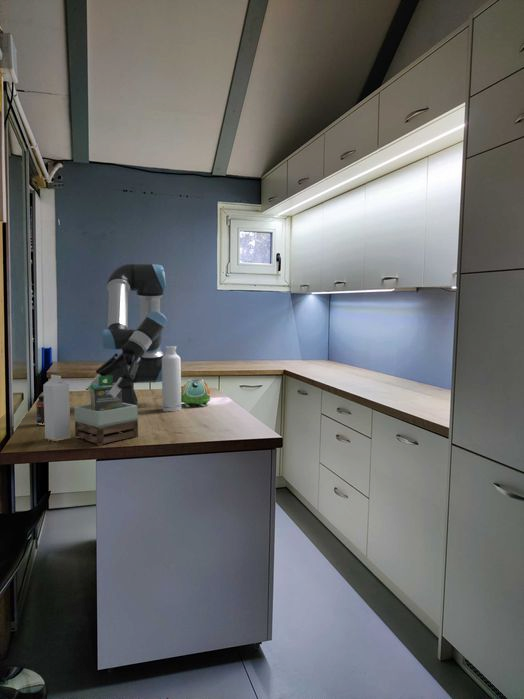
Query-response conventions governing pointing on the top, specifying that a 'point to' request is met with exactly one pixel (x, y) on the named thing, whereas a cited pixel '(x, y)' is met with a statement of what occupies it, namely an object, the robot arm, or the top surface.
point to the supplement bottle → (40, 409)
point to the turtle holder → (195, 392)
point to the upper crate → (106, 415)
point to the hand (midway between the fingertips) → (100, 393)
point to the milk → (56, 408)
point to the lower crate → (106, 432)
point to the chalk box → (104, 395)
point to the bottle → (171, 380)
